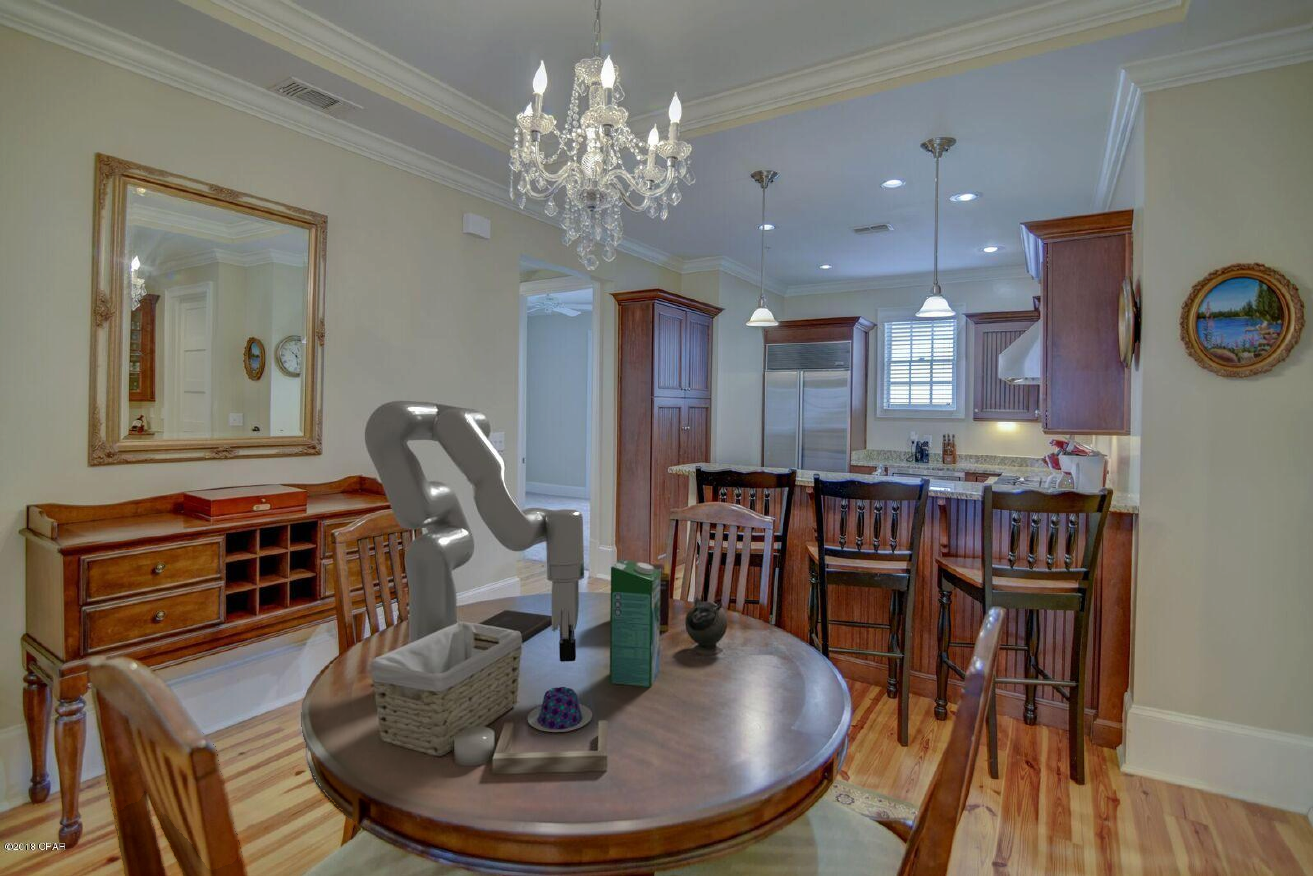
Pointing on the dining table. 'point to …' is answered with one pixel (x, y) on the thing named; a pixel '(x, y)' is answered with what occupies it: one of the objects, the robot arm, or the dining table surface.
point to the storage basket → (445, 685)
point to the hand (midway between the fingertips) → (567, 659)
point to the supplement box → (664, 595)
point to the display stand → (548, 757)
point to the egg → (474, 746)
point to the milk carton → (634, 623)
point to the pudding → (559, 711)
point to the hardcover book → (516, 625)
